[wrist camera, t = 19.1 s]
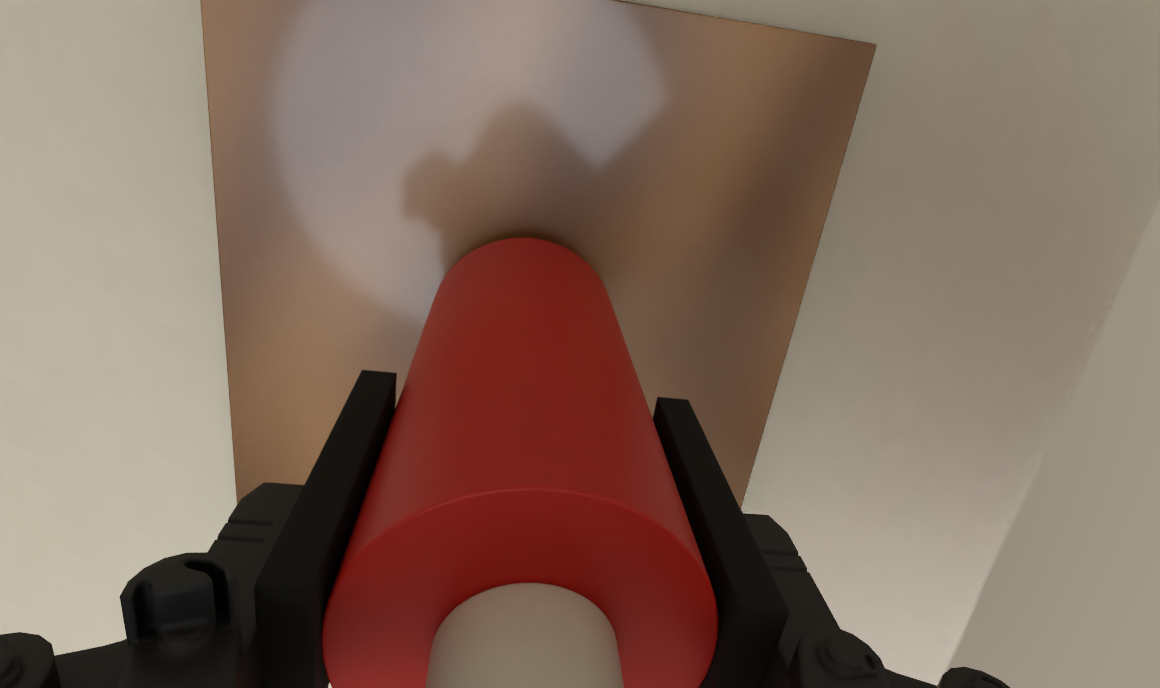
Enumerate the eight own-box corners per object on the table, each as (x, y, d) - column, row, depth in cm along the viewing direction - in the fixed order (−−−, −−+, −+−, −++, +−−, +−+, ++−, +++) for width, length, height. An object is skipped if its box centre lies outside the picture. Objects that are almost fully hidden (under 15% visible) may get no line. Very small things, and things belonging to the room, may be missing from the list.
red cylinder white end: (627, 249, 21) (821, 613, 7) (598, 412, 23) (705, 917, 10) (436, 226, 20) (261, 586, 7) (426, 397, 23) (281, 924, 9)
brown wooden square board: (865, 44, 21) (877, 44, 21) (723, 537, 29) (728, 550, 28) (207, -68, 19) (194, -73, 18) (245, 507, 27) (237, 520, 26)
